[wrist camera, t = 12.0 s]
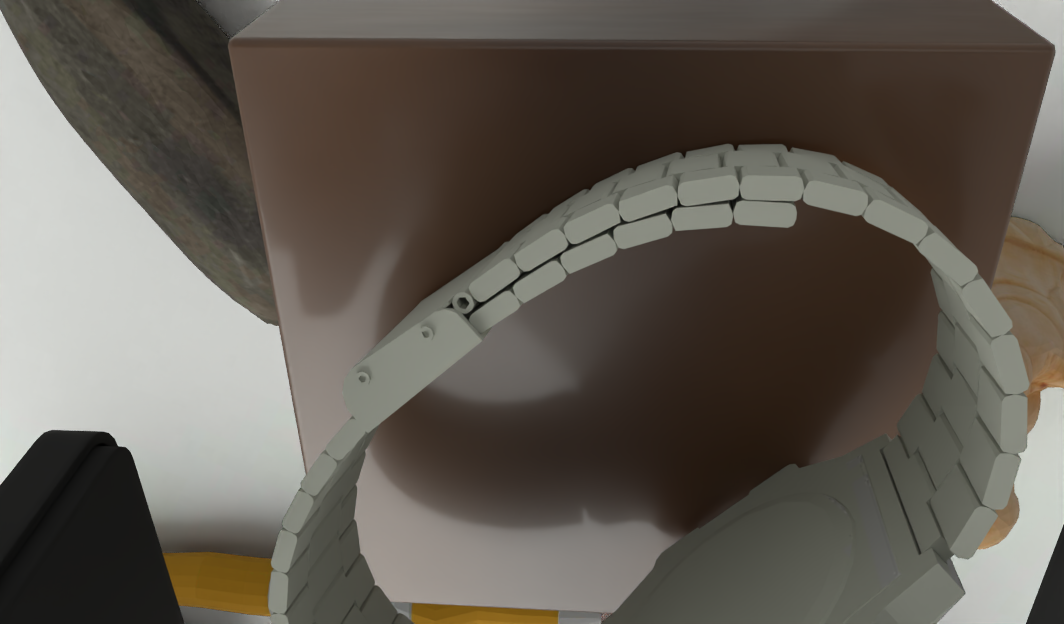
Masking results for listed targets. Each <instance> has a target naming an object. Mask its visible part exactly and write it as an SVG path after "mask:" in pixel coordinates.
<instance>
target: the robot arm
mask: <svg viewBox="0 0 1064 624" xmlns="http://www.w3.org/2000/svg"><path fill="white" fill-rule="evenodd" d="M0 624H184V621H183V618H182V614H181V611H180V608H179V605H178V602H177V598H176V595H175V592H174V589H173V585H172V582H171V579H170V576H169V572H168V569H167V566H166V563H165V560H164V556H163V553H162V550H161V547H160V543H159V540H158V537H157V534H156V531H155V527H154V524H153V521H152V518H151V514H150V511H149V508H148V505H147V501H146V498H145V495H144V492H143V489H142V485H141V482H140V479H139V476H138V472H137V469H136V466H135V463H134V459H133V457H132V455H131V452H130V451H129V450H128V449H127V448H126V447H118V446H117V443H116V441H115V439H114V438H113V437H112V436H111V435H110V434H109V433H106V432H95V431H64V430H51V431H48V432H45V433H43V434H42V435H41V436H40V437H39V438H38V439H37V440H36V441H35V442H34V444H33V445H32V446H31V448H30V449H29V450H28V451H27V453H26V454H25V455H24V456H23V458H22V459H21V460H20V461H19V463H18V464H17V465H16V466H15V468H14V469H13V470H12V471H11V473H10V474H9V475H8V476H7V478H6V479H5V480H4V481H3V483H2V484H1V485H0ZM1026 624H1064V525H1063V528H1062V531H1061V533H1060V536H1059V538H1058V541H1057V544H1056V546H1055V549H1054V551H1053V554H1052V557H1051V559H1050V562H1049V565H1048V567H1047V570H1046V572H1045V575H1044V578H1043V580H1042V583H1041V586H1040V588H1039V591H1038V593H1037V596H1036V599H1035V601H1034V604H1033V607H1032V609H1031V612H1030V614H1029V617H1028V620H1027V622H1026Z"/></svg>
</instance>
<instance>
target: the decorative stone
mask: <svg viewBox="0 0 1064 624" xmlns="http://www.w3.org/2000/svg"><path fill="white" fill-rule="evenodd" d="M0 10H1V12H2V14H3V16H4V18H5V20H6V22H7V23H8V25H9V27H10V29H11V31H12V33H13V35H14V36H15V38H16V40H17V42H18V44H19V46H20V47H21V49H22V51H23V53H24V55H25V56H26V58H27V60H28V62H29V63H30V65H31V67H32V68H33V70H34V72H35V73H36V75H37V77H38V79H39V80H40V82H41V83H42V85H43V86H44V88H45V89H46V91H47V92H48V94H49V95H50V97H51V98H52V100H53V101H54V103H55V104H56V105H57V107H58V108H59V109H60V111H61V112H62V114H63V115H64V116H65V118H66V119H67V121H68V122H69V123H70V124H71V125H72V127H73V128H74V129H75V130H76V132H77V133H78V134H79V135H80V137H81V138H82V139H83V140H84V142H85V143H86V144H87V145H88V146H89V147H90V148H91V150H92V151H93V152H94V153H95V155H96V156H97V157H98V158H99V159H100V161H101V162H102V163H103V164H104V165H105V166H106V167H107V169H108V170H109V171H110V172H111V173H112V174H113V176H114V177H115V178H116V179H117V180H118V181H119V182H120V184H121V185H122V186H123V187H124V188H125V189H126V190H127V191H128V192H129V193H130V195H131V196H132V197H133V198H134V199H135V200H136V201H137V202H138V203H139V204H140V205H141V207H142V208H143V209H144V210H145V211H146V212H147V213H148V214H149V216H150V217H151V218H152V219H153V220H154V221H155V222H156V223H157V224H158V225H159V227H160V228H161V229H162V230H163V231H164V232H165V233H166V234H167V235H168V237H169V238H170V239H171V240H172V241H173V242H174V243H175V244H176V246H177V247H178V248H179V249H180V250H181V251H182V252H183V253H184V254H185V255H186V256H187V258H188V259H189V260H190V261H191V262H192V263H193V264H194V265H195V266H196V267H197V268H198V269H199V270H200V271H202V272H203V273H204V274H205V276H206V277H207V278H209V279H210V280H211V281H212V282H213V283H214V284H215V285H217V286H218V287H219V288H220V289H221V290H222V291H224V292H225V293H226V294H227V295H229V296H230V297H231V298H232V299H233V300H234V301H236V302H237V303H239V304H240V305H242V306H243V307H245V308H246V309H248V310H249V311H250V312H251V313H253V314H254V315H256V316H257V317H258V318H260V319H261V320H263V321H264V322H266V323H267V324H270V323H271V324H273V325H275V326H279V324H278V318H277V313H276V307H275V302H274V296H273V291H272V285H271V280H270V274H269V269H268V263H267V258H266V252H265V247H264V241H263V236H262V230H261V225H260V219H259V214H258V208H257V203H256V197H255V192H254V186H253V181H252V176H251V170H250V165H249V159H248V154H247V148H246V143H245V137H244V132H243V126H242V121H241V115H240V110H239V104H238V99H237V93H236V88H235V82H234V77H233V71H232V66H231V60H230V55H229V49H228V43H229V40H230V39H229V38H228V37H227V36H226V35H225V34H224V33H223V31H222V30H221V29H220V28H219V27H218V25H217V24H216V23H215V22H214V20H213V19H212V18H211V17H210V16H209V15H208V14H207V13H206V11H205V10H204V9H203V8H202V7H201V6H200V5H199V4H198V3H197V2H196V1H195V0H0Z"/></svg>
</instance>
